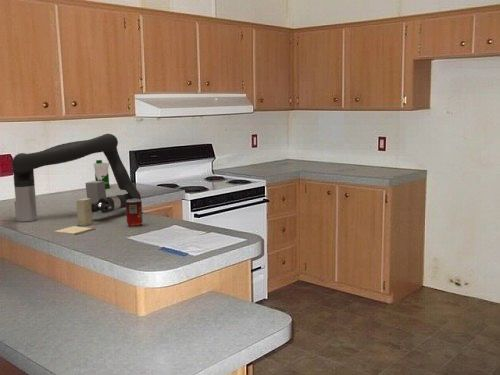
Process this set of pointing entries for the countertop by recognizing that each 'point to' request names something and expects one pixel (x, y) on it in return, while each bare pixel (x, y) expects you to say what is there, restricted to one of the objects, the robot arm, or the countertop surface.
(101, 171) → the milk carton
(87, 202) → the skincare box
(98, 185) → the skincare box
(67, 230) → the notepad
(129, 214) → the soda can
